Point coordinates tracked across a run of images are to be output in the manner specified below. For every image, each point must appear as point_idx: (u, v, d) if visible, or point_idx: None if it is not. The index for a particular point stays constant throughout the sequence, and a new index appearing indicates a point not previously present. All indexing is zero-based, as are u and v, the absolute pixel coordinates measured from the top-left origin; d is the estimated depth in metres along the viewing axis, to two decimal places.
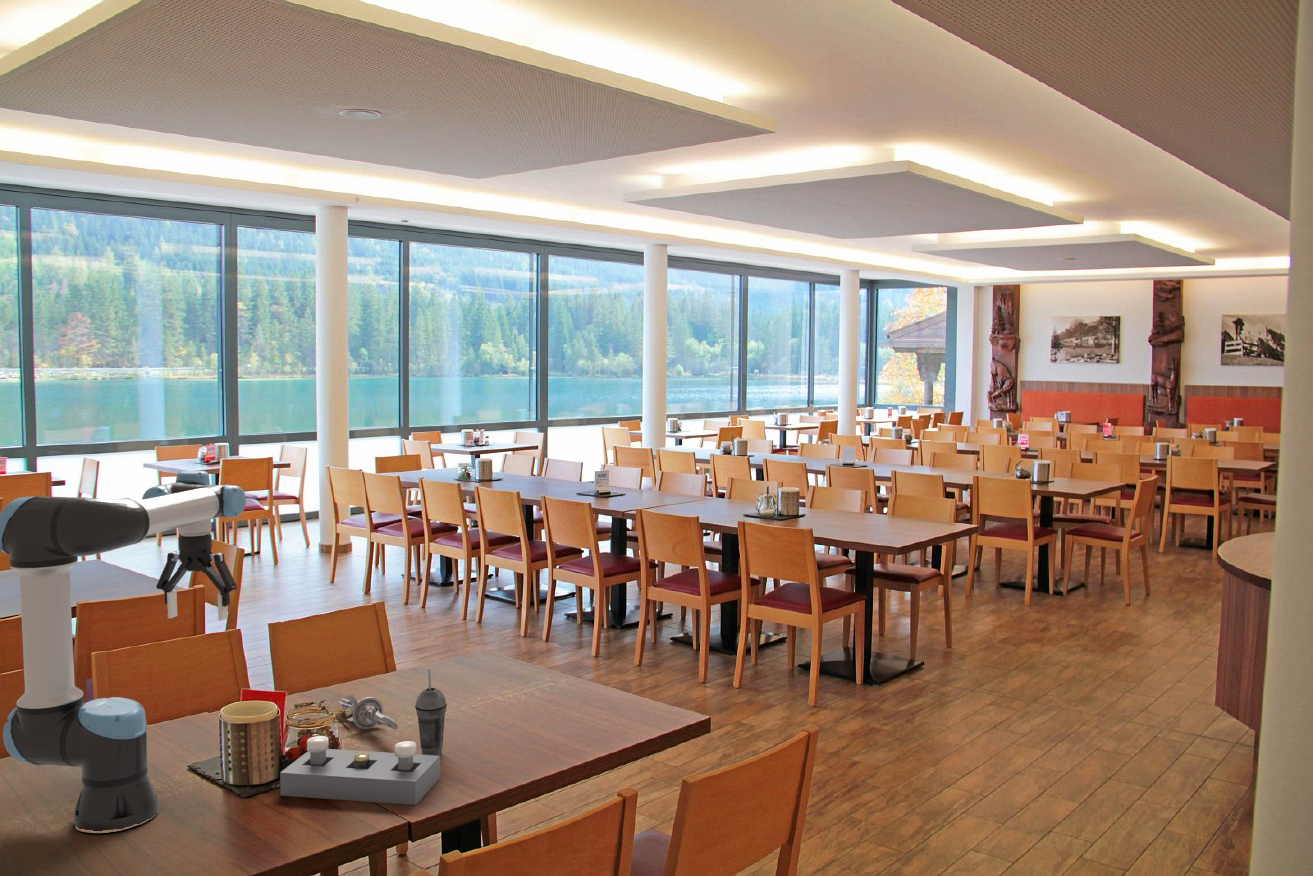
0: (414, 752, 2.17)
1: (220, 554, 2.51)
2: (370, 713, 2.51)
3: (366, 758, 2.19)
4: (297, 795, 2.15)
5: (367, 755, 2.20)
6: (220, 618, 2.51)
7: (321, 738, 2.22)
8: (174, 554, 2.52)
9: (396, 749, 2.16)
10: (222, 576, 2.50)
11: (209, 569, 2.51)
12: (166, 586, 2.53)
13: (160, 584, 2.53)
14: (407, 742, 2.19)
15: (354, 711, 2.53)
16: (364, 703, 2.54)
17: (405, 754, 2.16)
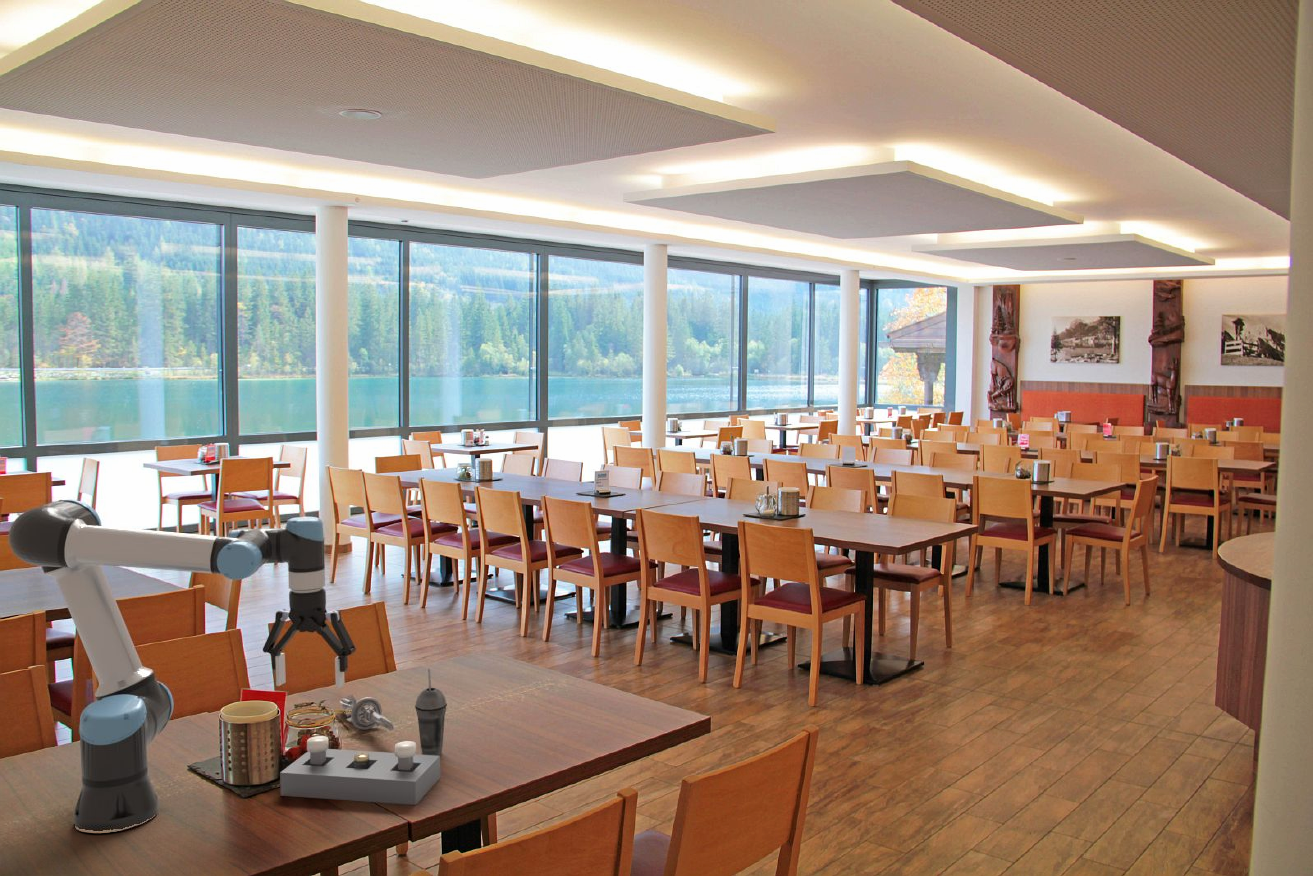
0: (414, 752, 2.17)
1: (337, 612, 2.20)
2: (368, 713, 2.51)
3: (366, 758, 2.19)
4: (297, 795, 2.15)
5: (367, 755, 2.20)
6: (338, 685, 2.20)
7: (321, 738, 2.22)
8: (283, 613, 2.21)
9: (396, 749, 2.16)
10: (340, 637, 2.19)
11: (324, 629, 2.20)
12: (274, 649, 2.21)
13: (267, 647, 2.21)
14: (407, 742, 2.19)
15: (352, 711, 2.53)
16: (363, 703, 2.54)
17: (405, 754, 2.16)
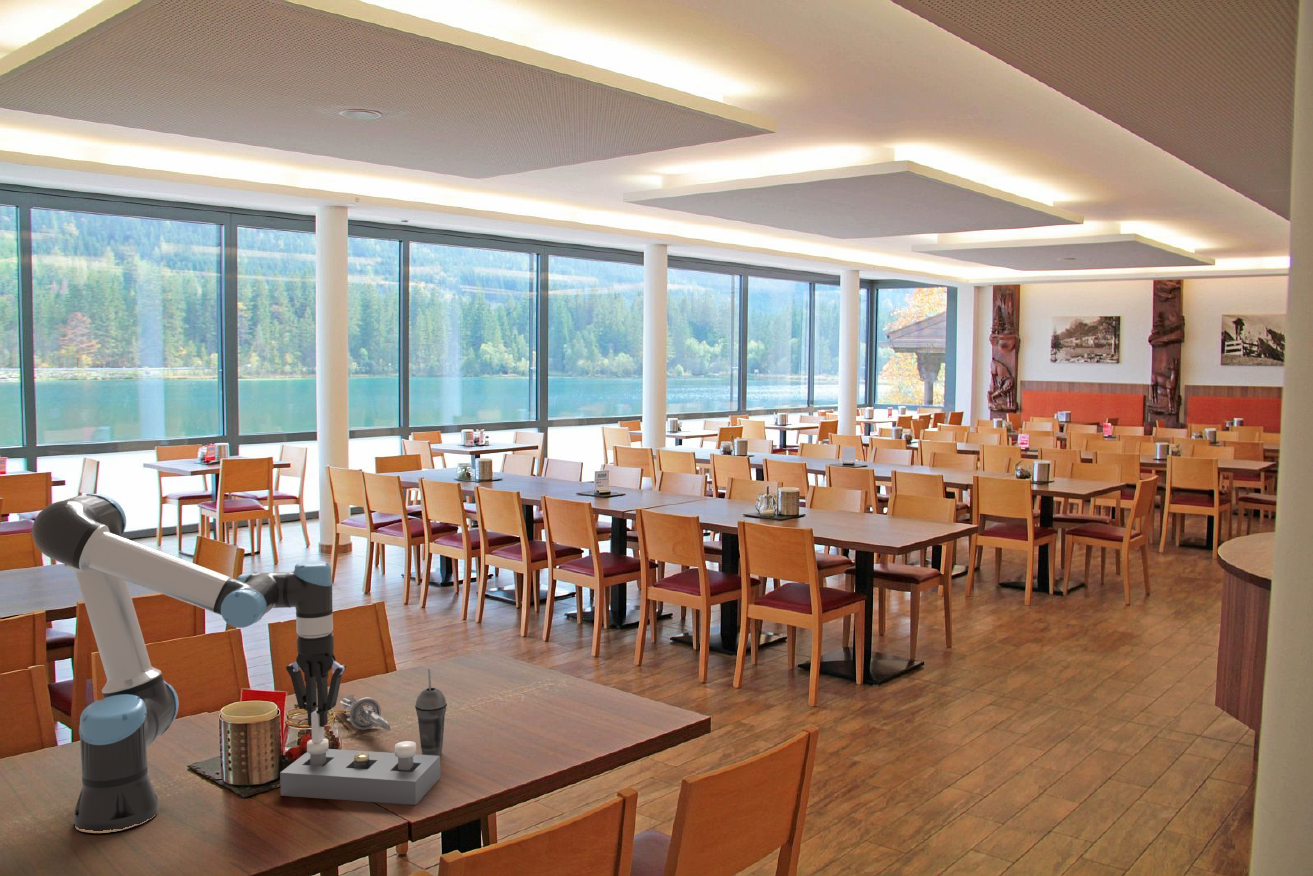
0: (414, 752, 2.17)
1: (343, 669, 2.19)
2: (366, 714, 2.51)
3: (366, 758, 2.19)
4: (297, 795, 2.15)
5: (367, 755, 2.20)
6: (317, 740, 2.20)
7: None
8: (292, 664, 2.20)
9: (396, 749, 2.16)
10: (330, 691, 2.18)
11: (323, 680, 2.19)
12: (307, 705, 2.19)
13: (301, 702, 2.20)
14: (407, 742, 2.19)
15: (351, 711, 2.53)
16: (361, 703, 2.54)
17: (405, 754, 2.16)
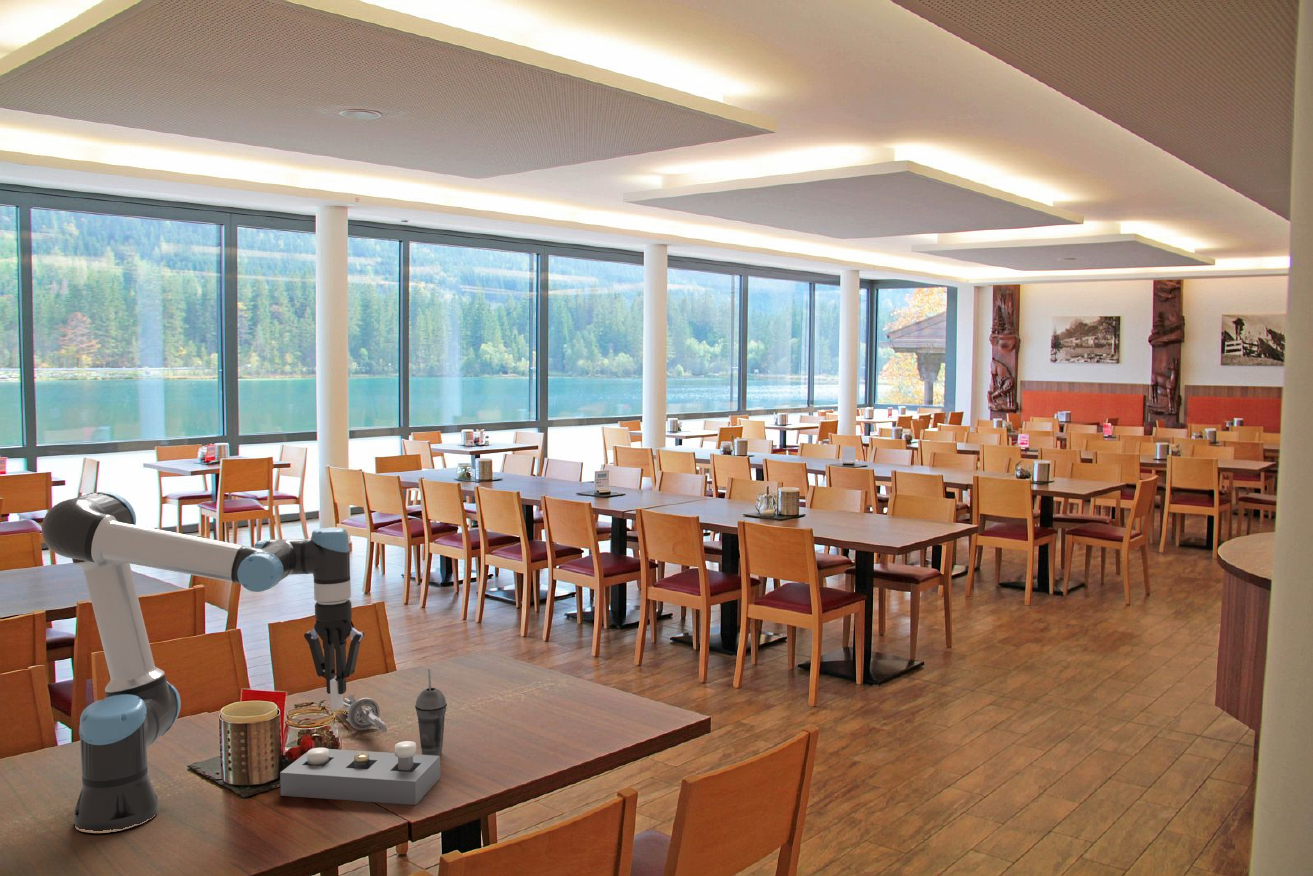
0: (414, 752, 2.17)
1: (362, 635, 2.18)
2: (364, 714, 2.51)
3: (366, 758, 2.19)
4: (297, 795, 2.15)
5: (367, 755, 2.20)
6: (336, 708, 2.18)
7: (321, 749, 2.22)
8: (310, 632, 2.19)
9: (396, 749, 2.16)
10: (349, 658, 2.17)
11: (341, 647, 2.18)
12: (326, 673, 2.18)
13: (319, 670, 2.18)
14: (407, 742, 2.19)
15: (350, 712, 2.52)
16: (360, 704, 2.54)
17: (405, 754, 2.16)
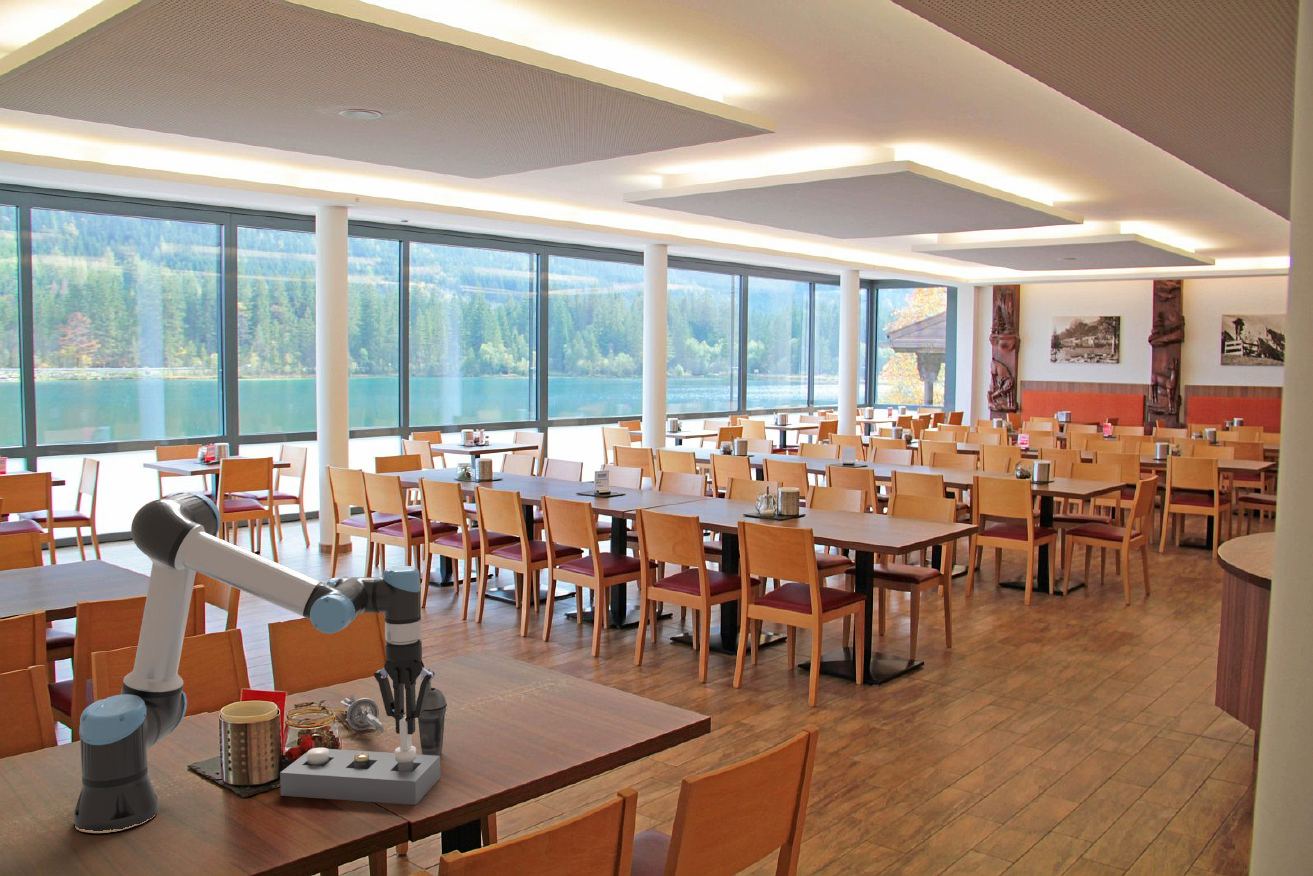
0: (414, 756, 2.17)
1: (432, 675, 2.16)
2: (363, 714, 2.50)
3: (366, 758, 2.19)
4: (297, 795, 2.15)
5: (367, 755, 2.20)
6: (405, 748, 2.17)
7: (321, 749, 2.22)
8: (380, 671, 2.17)
9: (396, 753, 2.16)
10: (419, 698, 2.15)
11: (411, 687, 2.16)
12: (395, 713, 2.16)
13: (389, 710, 2.17)
14: None
15: (348, 712, 2.52)
16: (359, 704, 2.54)
17: (405, 758, 2.16)
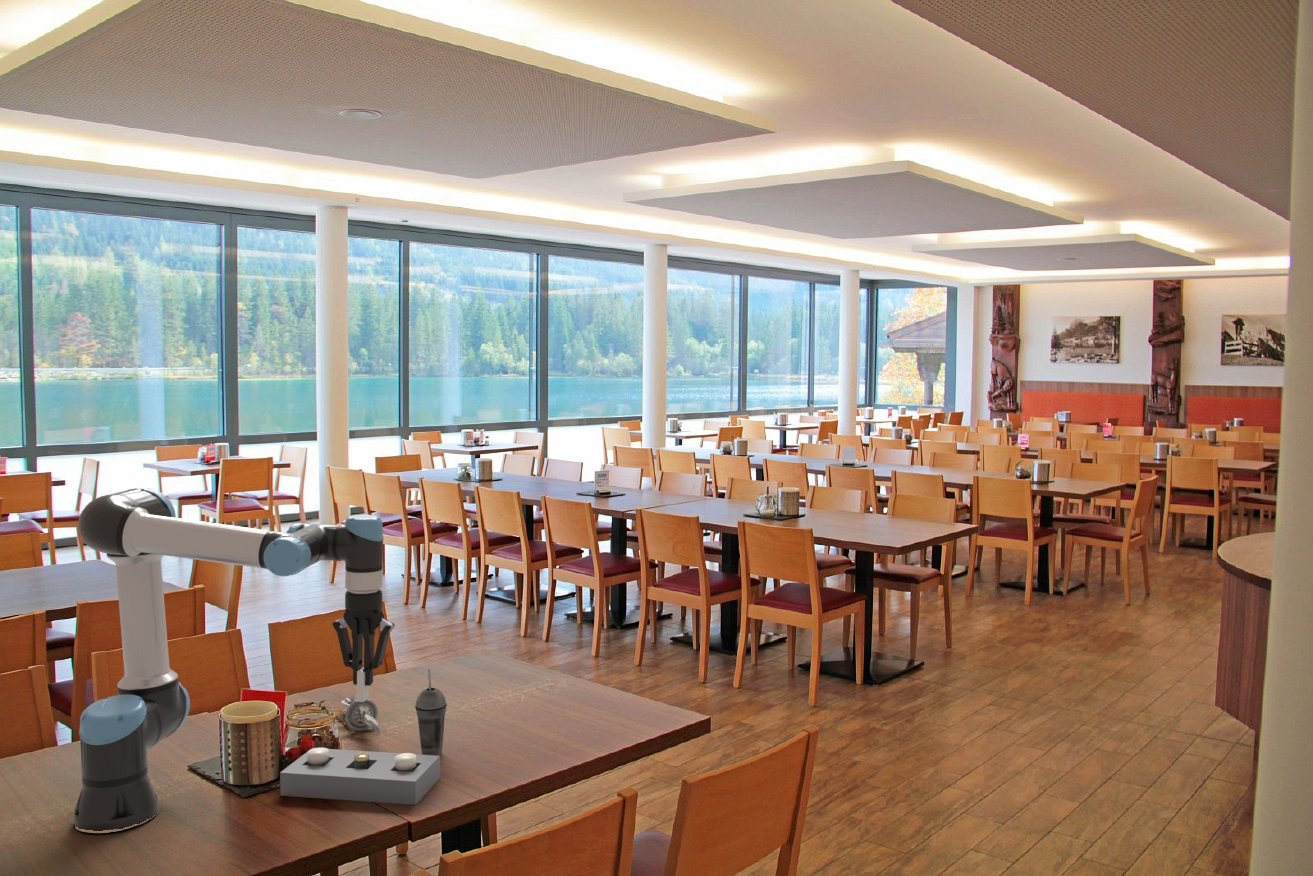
0: (414, 764, 2.18)
1: (392, 626, 2.13)
2: (361, 715, 2.50)
3: (366, 758, 2.19)
4: (297, 795, 2.15)
5: (367, 755, 2.20)
6: (362, 699, 2.13)
7: (321, 749, 2.22)
8: (339, 621, 2.14)
9: (396, 761, 2.17)
10: (378, 649, 2.12)
11: (370, 637, 2.13)
12: (353, 663, 2.13)
13: (346, 660, 2.13)
14: (407, 754, 2.19)
15: (347, 712, 2.52)
16: (358, 704, 2.53)
17: (405, 766, 2.16)
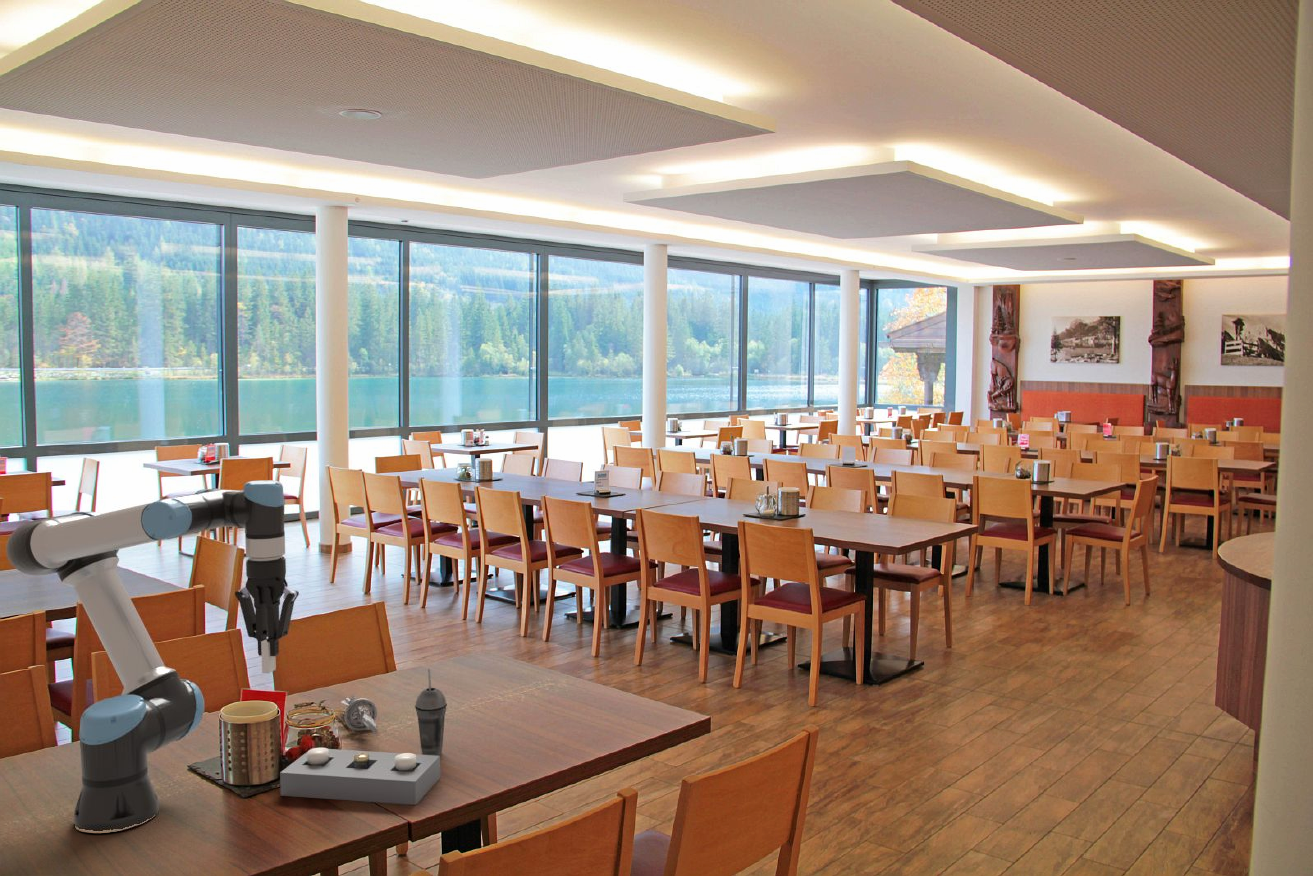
0: (414, 764, 2.18)
1: (295, 594, 2.06)
2: (360, 715, 2.50)
3: (366, 758, 2.19)
4: (297, 795, 2.15)
5: (367, 755, 2.20)
6: (267, 670, 2.07)
7: (321, 749, 2.22)
8: (241, 590, 2.07)
9: (396, 761, 2.17)
10: (281, 618, 2.06)
11: (274, 606, 2.06)
12: (257, 633, 2.07)
13: (250, 630, 2.07)
14: (407, 754, 2.19)
15: (346, 712, 2.52)
16: (357, 704, 2.53)
17: (405, 766, 2.16)
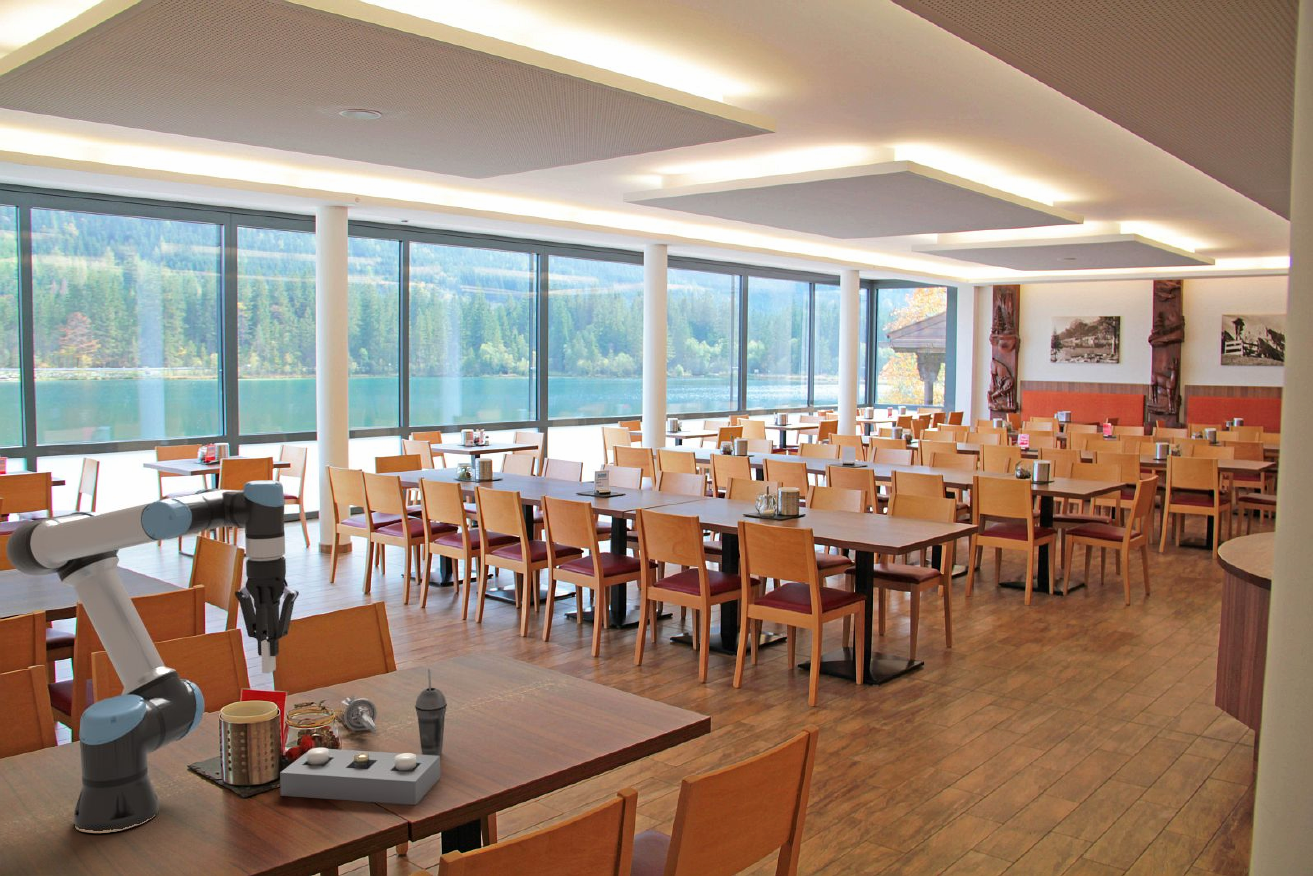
0: (414, 764, 2.18)
1: (295, 594, 2.06)
2: (359, 715, 2.50)
3: (366, 758, 2.19)
4: (297, 795, 2.15)
5: (367, 755, 2.20)
6: (267, 670, 2.07)
7: (321, 749, 2.22)
8: (241, 590, 2.07)
9: (396, 761, 2.17)
10: (281, 618, 2.06)
11: (274, 606, 2.06)
12: (257, 633, 2.07)
13: (250, 630, 2.07)
14: (407, 754, 2.19)
15: (346, 712, 2.52)
16: (356, 704, 2.53)
17: (405, 766, 2.16)
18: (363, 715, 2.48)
